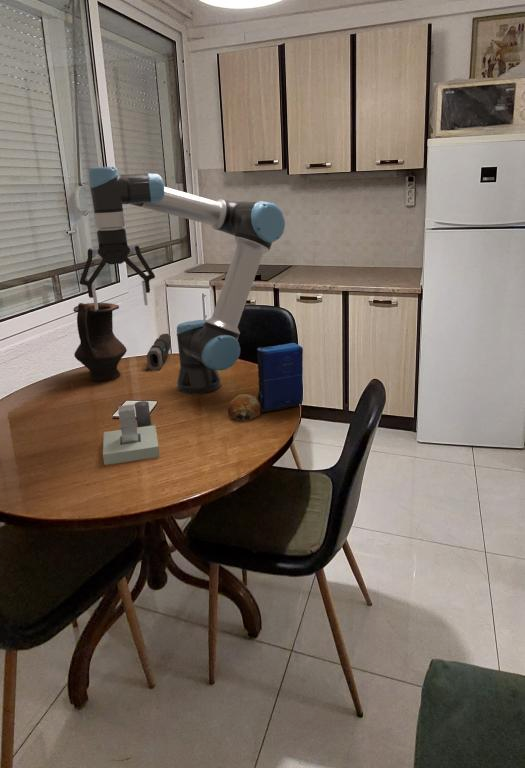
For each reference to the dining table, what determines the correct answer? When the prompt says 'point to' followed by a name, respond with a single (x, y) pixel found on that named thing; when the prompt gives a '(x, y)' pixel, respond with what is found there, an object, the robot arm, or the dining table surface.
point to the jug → (98, 341)
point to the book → (280, 376)
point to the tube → (158, 352)
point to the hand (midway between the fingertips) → (121, 306)
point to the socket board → (130, 446)
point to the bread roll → (244, 407)
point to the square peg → (128, 424)
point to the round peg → (142, 414)
